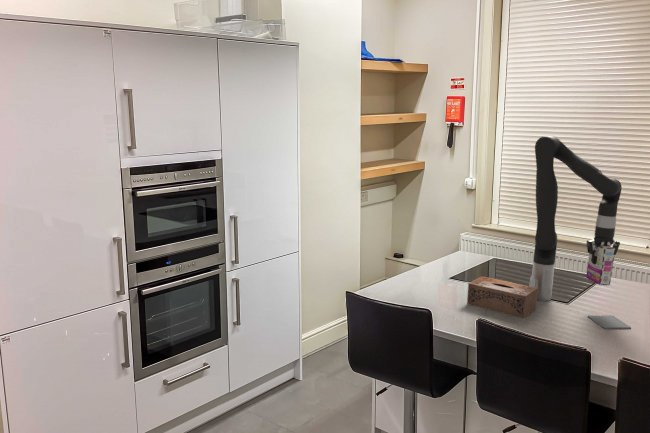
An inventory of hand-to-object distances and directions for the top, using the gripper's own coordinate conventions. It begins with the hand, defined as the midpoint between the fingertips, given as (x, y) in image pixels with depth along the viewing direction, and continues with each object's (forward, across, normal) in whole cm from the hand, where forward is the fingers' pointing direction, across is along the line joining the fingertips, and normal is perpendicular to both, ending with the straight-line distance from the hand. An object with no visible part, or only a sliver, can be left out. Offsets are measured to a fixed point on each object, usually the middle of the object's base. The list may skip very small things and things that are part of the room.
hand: (600, 263), depth 238 cm
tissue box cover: (+23, -40, +6) cm, 46 cm away
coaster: (+21, -1, -14) cm, 25 cm away
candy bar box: (+8, 0, 0) cm, 8 cm away
